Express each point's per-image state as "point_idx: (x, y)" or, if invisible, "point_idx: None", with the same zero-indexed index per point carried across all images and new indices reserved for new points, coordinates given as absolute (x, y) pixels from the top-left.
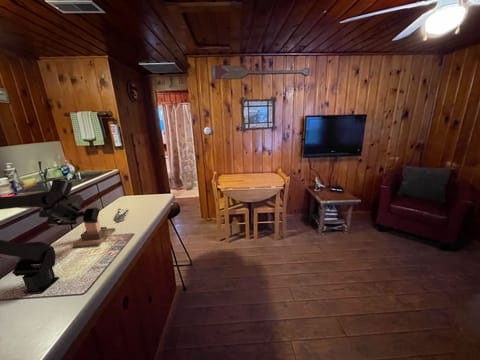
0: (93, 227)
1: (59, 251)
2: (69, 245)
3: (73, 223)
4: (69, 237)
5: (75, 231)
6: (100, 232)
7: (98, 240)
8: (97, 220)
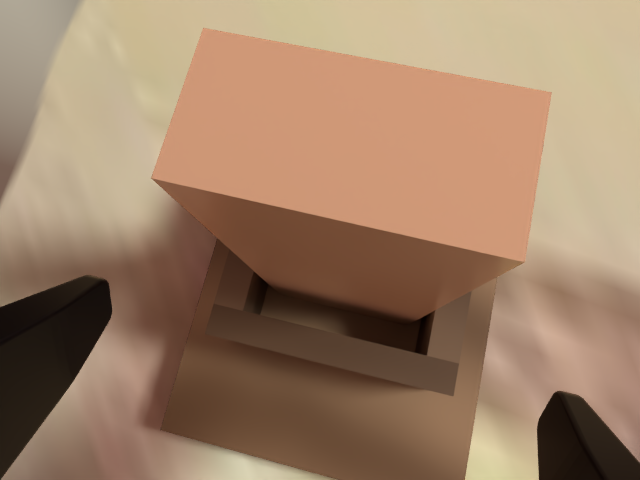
0: (377, 299)
1: (49, 440)
2: (110, 339)
3: (61, 381)
4: (55, 150)
5: (75, 36)
6: (459, 348)
7: (428, 416)
8: (593, 426)
